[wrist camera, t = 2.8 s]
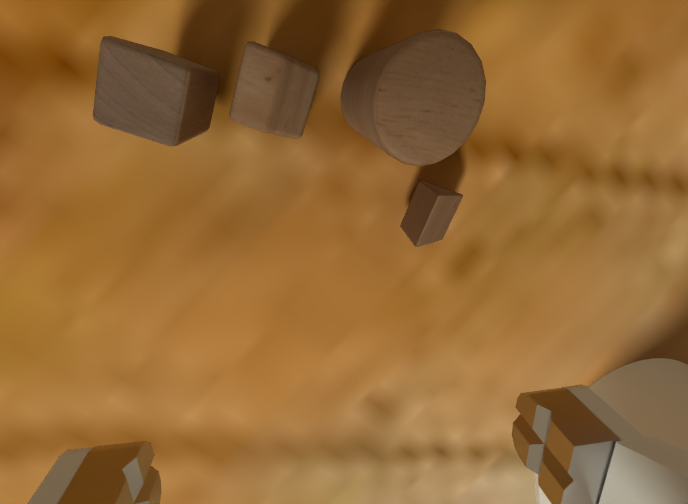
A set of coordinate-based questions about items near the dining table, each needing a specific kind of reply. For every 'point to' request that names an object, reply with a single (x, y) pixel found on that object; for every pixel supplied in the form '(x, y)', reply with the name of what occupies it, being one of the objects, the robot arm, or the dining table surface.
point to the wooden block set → (296, 98)
